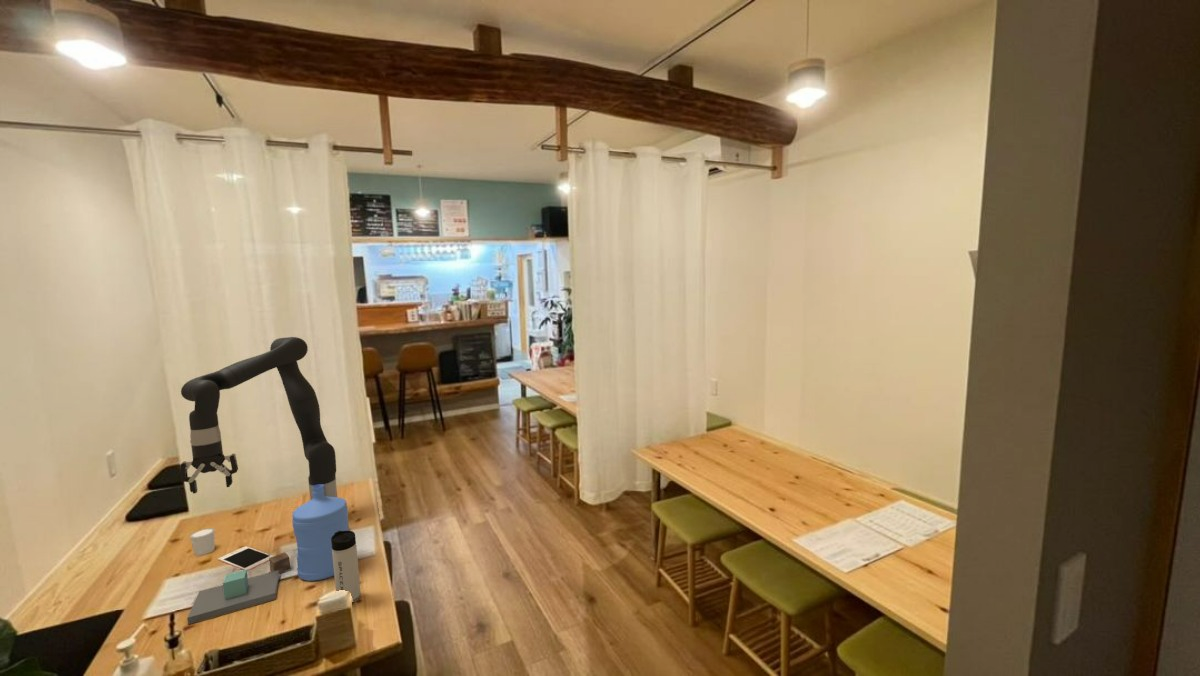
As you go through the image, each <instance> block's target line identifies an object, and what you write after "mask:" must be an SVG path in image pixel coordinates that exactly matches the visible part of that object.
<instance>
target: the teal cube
mask: <svg viewBox="0 0 1200 676" xmlns="http://www.w3.org/2000/svg"><path fill="white" fill-rule="evenodd" d="M248 578H249V577H248V571H247V570H239V571H235V572H231V573H227V574H226V575H225V577H224V579H223V582H222V585H223V588H224V597H225V599H228V598H232V597H235V596H239V595H243V594H246V592H247V588H248V585H249V584H248Z"/></svg>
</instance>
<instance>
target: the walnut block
mask: <svg viewBox="0 0 1200 676" xmlns="http://www.w3.org/2000/svg"><path fill="white" fill-rule="evenodd" d="M272 556H273V557H271V558H269V561H268V562H269V568H270V572H274V571H277V570H279V575H280V574H283V573H285V572H288V571H290V570H291V558H290V556H289V555H288V553H287V552H281V553H279V554H276V555H272Z"/></svg>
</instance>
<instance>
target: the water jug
mask: <svg viewBox="0 0 1200 676" xmlns="http://www.w3.org/2000/svg"><path fill="white" fill-rule="evenodd" d="M323 486H324V485H323V484H318V485H315V486H313V487H312V488H313V499H312V500H310V499H309V501H306V502H305V503H303V504H301V505H300V506H298V507H297V508H296V509H294V510H293V513H292V515H291V516H292V519H291V522H292V528H293V534H294V536H295V539H296V548H297V553H296V564H297V567H296V572H297V576H298V577H299V578H300V579H301V580H304V581H310V582H311V581H313V582H315V581H321V580H324V579H328V578H331V577H333V576H334V567H333V556H332V543H331V538H332V536H333V535H334V533H335V532H338V531H340V530H341V531H351V530H350V525H349V516H348V515H349V508H348V504H347V501H346V499H344V498H342V497H339V496H338V497H327V496H325V495H324V489H323Z"/></svg>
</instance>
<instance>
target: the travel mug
mask: <svg viewBox="0 0 1200 676" xmlns="http://www.w3.org/2000/svg"><path fill="white" fill-rule="evenodd" d="M331 543H332V556H333V567H334V585H335V592H336V591H339V590H345V591H349V592H350V593H351V596H352V598H353V601H354V603H356V602H357V601H359V600H360V598H361V596H362V594H361V583H360V573H359V560H358V551H357V550H358V549H357V541H356V533H355V532H354V531H352V530H350V531H341V530H340V531H338V532H335V533H334V535H333V536H332V538H331Z"/></svg>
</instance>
